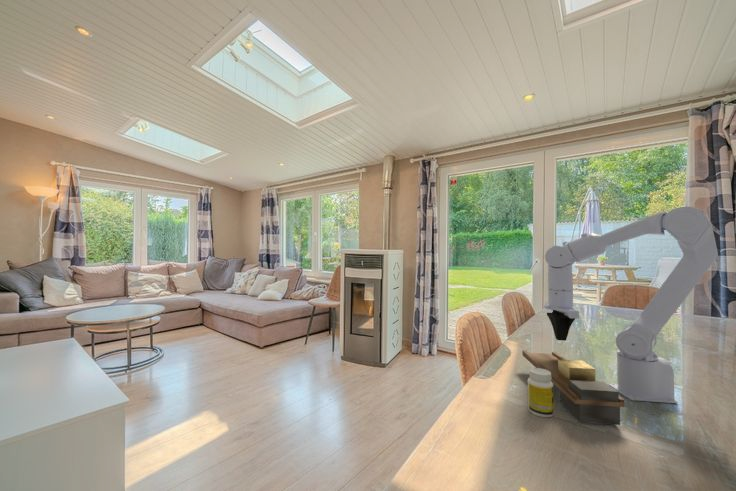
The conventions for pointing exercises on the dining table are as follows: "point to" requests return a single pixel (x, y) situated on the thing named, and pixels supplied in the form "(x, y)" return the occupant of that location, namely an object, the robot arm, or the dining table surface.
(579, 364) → the block
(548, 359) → the beam
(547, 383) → the supplement bottle
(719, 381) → the dining table surface
